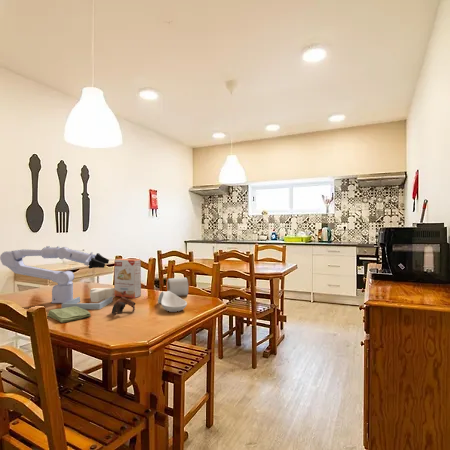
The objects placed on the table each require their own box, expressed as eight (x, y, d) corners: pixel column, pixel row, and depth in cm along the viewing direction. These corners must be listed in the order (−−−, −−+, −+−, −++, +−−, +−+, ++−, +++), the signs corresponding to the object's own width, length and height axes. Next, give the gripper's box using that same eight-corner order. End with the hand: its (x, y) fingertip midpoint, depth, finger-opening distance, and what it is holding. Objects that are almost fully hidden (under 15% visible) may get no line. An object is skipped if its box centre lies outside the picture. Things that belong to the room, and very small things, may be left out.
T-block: (83, 302, 165) (83, 292, 165) (93, 297, 177) (93, 288, 177) (106, 301, 165) (106, 292, 165) (114, 296, 177) (114, 287, 177)
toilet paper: (170, 298, 171) (170, 279, 172) (167, 294, 181) (167, 277, 181) (188, 296, 175) (188, 278, 175) (184, 293, 184) (184, 276, 184)
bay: (61, 309, 150) (61, 304, 150) (77, 301, 166) (77, 296, 166) (99, 309, 150) (99, 303, 150) (112, 301, 165) (112, 296, 165)
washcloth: (60, 325, 127) (60, 316, 127) (46, 317, 139) (45, 309, 139) (93, 318, 136) (93, 310, 136) (76, 311, 148) (76, 304, 148)
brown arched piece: (112, 312, 146) (121, 295, 148) (130, 321, 146) (139, 304, 148) (105, 312, 134) (115, 294, 137) (125, 321, 134) (135, 303, 137)
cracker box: (114, 296, 177) (113, 259, 178) (121, 294, 183) (121, 258, 183) (134, 298, 172) (134, 260, 172) (141, 296, 178) (141, 258, 178)
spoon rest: (191, 312, 144) (191, 296, 144) (166, 315, 138) (166, 299, 138) (172, 301, 164) (172, 288, 164) (150, 304, 158) (150, 290, 158)
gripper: (77, 253, 160) (104, 260, 162) (87, 247, 174) (111, 253, 176) (74, 266, 161) (101, 273, 163) (84, 259, 175) (108, 265, 177)
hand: (106, 263), depth 170 cm, fingers open, 7 cm apart
